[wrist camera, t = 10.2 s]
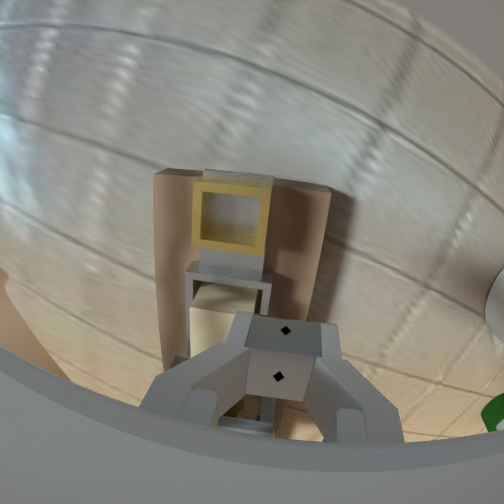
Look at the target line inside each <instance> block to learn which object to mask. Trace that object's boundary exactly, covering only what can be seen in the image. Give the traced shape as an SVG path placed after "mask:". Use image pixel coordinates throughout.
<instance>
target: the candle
mask: <svg viewBox="0 0 504 504" xmlns="http://www.w3.org/2000/svg"><path fill="white" fill-rule="evenodd" d="M481 417H482V419H483V421H484V423H485V426H486V428H487V430H488V432H492V431H497V430H502V429H504V393H503V394H500V395H499V396H497V397H495V398H494V399H493V400H491V401H490V402H489V403H488V404H487V405H486V406H485V407H484V409H483V410H482V412H481Z"/></svg>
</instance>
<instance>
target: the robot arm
mask: <svg viewBox="0 0 504 504" xmlns="http://www.w3.org/2000/svg"><path fill="white" fill-rule="evenodd" d="M485 317H486V321H487V324H488V326H489V327H490V329H491V331H492V332H491V339H492V342H493V343H494V344H495V345H498V344H502V345H503V346H504V269H503V270H502V271H501V272H500V274H499V275H498V277H497V278H496V280H495V282H494V284H493V286H492V288H491V290H490V293H489V295H488V298H487V302H486V308H485ZM245 394H250V395H258V396H266V397H274V398H280V399H287V400H294V401H301V402H303V404H304V406H305V408H306V409H307V411H308V413H309V414H310V416H311V417H312V419H313V421H314V422H315V424H316V425H317V427H318V429H319V430H320V432H321V433H322V435H323V437H324V439H323V441H322V442H315V441H303V440H292V439H283V438H275V437H268V436H261V435H254V434H248V433H242V432H236V431H231V430H225V429H220V428H218V418H219V417H220V416H222V415H223V414H224V413H225V412H226V411H227V410H229V409H230V408H231V407H232V406H233V405H234V404H236V403H237V402H238V401H239V400H240V399H241V398H242V397H243V396H245ZM0 504H504V429H502V430H497V431H492V432H487V433H482V434H476V435H470V436H464V437H457V438H449V439H441V440H431V441H420V442H405V441H404V436H403V431H402V427H401V422H400V417H399V413H398V409H397V408H396V407H395V406H394V405H393V404H392V403H391V402H390V401H389V400H388V399H387V398H386V397H385V396H383V395H382V394H381V393H380V392H379V391H378V390H377V389H376V388H375V387H374V386H373V385H372V384H371V383H370V382H369V381H368V380H367V379H366V378H365V377H364V376H363V375H362V374H361V373H360V372H359V371H358V370H357V369H356V368H355V367H354V366H353V365H352V364H351V363H349V362H348V361H347V360H345V359H342V356H341V348H340V341H339V334H338V327H337V325H336V324H331V323H317V322H308V321H299V320H290V319H286V318H280V317H274V316H268V315H262V314H256V313H254V314H253V313H250V312H244V311H238V310H237V311H236V312H235V315H234V318H233V320H232V323H231V326H230V329H229V332H228V334H227V337H226V340H225V343H221V342H219V343H217V344H215V345H214V346H212V347H210V348H208V349H206V350H205V351H203V352H201V353H199V354H197V355H195V356H193V357H192V358H190V359H188V360H186V361H184V362H182V363H180V364H178V365H177V366H175V367H173V368H171V369H169V370H167V371H165V372H163V373H161V374H159V375H157V376H156V377H155V379H154V381H153V382H152V384H151V386H150V388H149V390H148V391H147V393H146V395H145V397H144V399H143V400H142V402H141V404H140V406H139V407H137V406H133V405H130V404H127V403H125V402H122V401H119V400H116V399H113V398H110V397H108V396H105V395H102V394H100V393H97V392H95V391H92V390H90V389H87V388H85V387H82V386H80V385H77V384H75V383H73V382H70V381H68V380H66V379H64V378H61V377H59V376H57V375H55V374H53V373H51V372H49V371H47V370H44V369H42V368H40V367H38V366H36V365H34V364H32V363H31V362H28V361H27V360H24V359H23V358H21V357H19V356H17V355H16V354H14V353H12V352H10V351H8V350H7V349H5V348H3V347H1V346H0Z"/></svg>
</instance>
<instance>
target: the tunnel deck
mask: <svg viewBox="0 0 504 504" xmlns="http://www.w3.org/2000/svg"><path fill="white" fill-rule="evenodd" d="M202 176H203V171H198V170H185V169H170V168H167V169H165V170H162V171H160V172H158V173H155V174H154V255H155V277H156V294H157V308H158V320H159V331H160V341H161V351H162V360H163V368H164V372H165V371H167V370H169V369H171V368H173V367H175V366H177V365H178V364H180V363H182V362H184V361H186V360H188V359H190V358H191V357H187V338H186V296H185V271H186V270H187V268H188V267H189V265H190V264H191V262H192V261H194V262H199V250H200V248H199V247H192V246H191V240H192V207H193V184H194V181H195V180H197V179H198V178H200V177H202ZM330 199H331V192H330V190H329V189H328V187H327V186H325V185H319V184H312V183H305V182H298V181H291V180H283V179H276V178H274V183H273V191H272V200H271V208H270V217H269V225H268V233H267V242H266V250H265V258H264V266H263V271H266V272H273V279H272V287H271V294H270V301H269V307H268V314H267V315H268V316H274V317H280V318H286V319H290V320H299V321H306V319H307V315H308V311H309V306H310V302H311V297H312V293H313V288H314V284H315V279H316V274H317V269H318V264H319V259H320V254H321V249H322V244H323V239H324V233H325V228H326V223H327V217H328V211H329V205H330ZM202 282H203V281H199V288H200V286H201V284H202ZM262 293H263V290H261V289H258V293H257V301H256V309H255V313H256V314H260V308H261V301H262ZM285 401H286V399H280V398H274V397H266V396H258V395H250V394H247V395H246V403H245V408H244V414H243V419H240V418H234V417H227V416H220V417H219V418H218V428H220V429H225V430H231V431H236V432H242V433H248V434H254V435H261V436H268V437H275V435H276V432H277V428H278V425H279V422H280V418H281V415H282V411H283V408H284V404H285Z"/></svg>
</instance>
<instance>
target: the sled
mask: <svg viewBox="0 0 504 504" xmlns="http://www.w3.org/2000/svg"><path fill="white" fill-rule="evenodd" d="M273 183H274V176H269V175H261V174H252V173H243V172H233V171H223V170H212V169H205V170H203V176H202V177H200V178H198V179H197V180H195V181H194V184H193V207H192V240H191V246H192V247H199V248H200V250H199V262H194V261H192V262H191V264H190V265H189V267H188V268H187V270H186V271H185V296H186V338H187V357H191V349H190V305H191V303H192V302H193V300H194V298H195V296H196V294H197V292H198V290H199V281H206V282H212V283H219V284H226V285H232V286H239V287H246V288H253V289H261V290H263V293H262V301H261V308H260V314H262V315H267V314H268V307H269V301H270V294H271V287H272V279H273V272H266V271H263V266H264V258H265V250H266V242H267V233H268V225H269V217H270V208H271V200H272V191H273ZM246 395H247V394H245V396H243V397H242V398H241V399H240V400H239V401H238V402H237V403H236V404H234V405H233V406H232V407H231V408H230V409H229V410H227V411H226V412H225V413H224V414H223V415H222V416H227V417H234V418H240V419H243V414H244V408H245V403H246Z"/></svg>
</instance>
